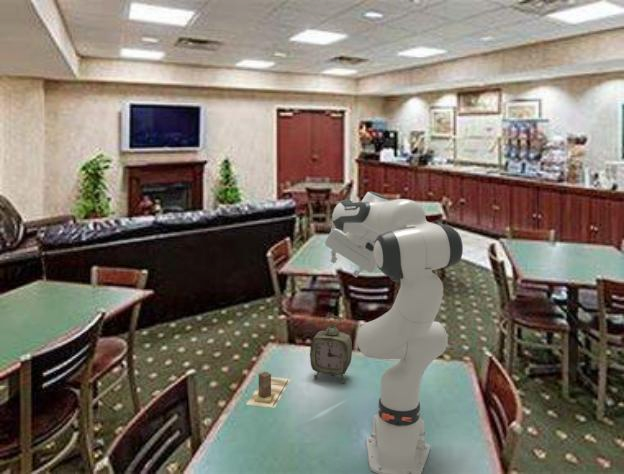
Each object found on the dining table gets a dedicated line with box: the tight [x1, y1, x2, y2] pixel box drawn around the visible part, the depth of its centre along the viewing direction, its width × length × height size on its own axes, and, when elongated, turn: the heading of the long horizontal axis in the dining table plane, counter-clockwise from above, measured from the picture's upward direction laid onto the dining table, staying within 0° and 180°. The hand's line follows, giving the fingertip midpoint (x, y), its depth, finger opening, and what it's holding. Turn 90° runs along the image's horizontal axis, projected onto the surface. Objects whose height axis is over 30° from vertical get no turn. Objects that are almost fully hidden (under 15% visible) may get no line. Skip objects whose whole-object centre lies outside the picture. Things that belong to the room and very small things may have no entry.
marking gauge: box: [255, 371, 275, 403], centre depth 179 cm, size 6×6×9 cm
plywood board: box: [245, 376, 292, 409], centre depth 185 cm, size 22×10×2 cm, turn 168°
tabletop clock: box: [309, 315, 353, 384], centre depth 197 cm, size 14×9×25 cm, turn 73°
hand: (343, 269), depth 184 cm, fingers open, 8 cm apart
